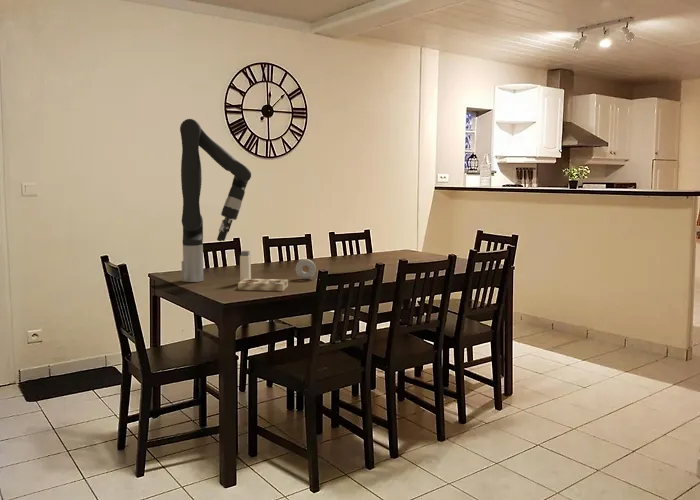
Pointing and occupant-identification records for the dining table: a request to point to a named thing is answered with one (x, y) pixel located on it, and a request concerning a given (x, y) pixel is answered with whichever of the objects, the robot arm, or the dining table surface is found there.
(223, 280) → the dining table surface
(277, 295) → the dining table surface
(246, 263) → the plug
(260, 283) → the socket board
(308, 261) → the donut
